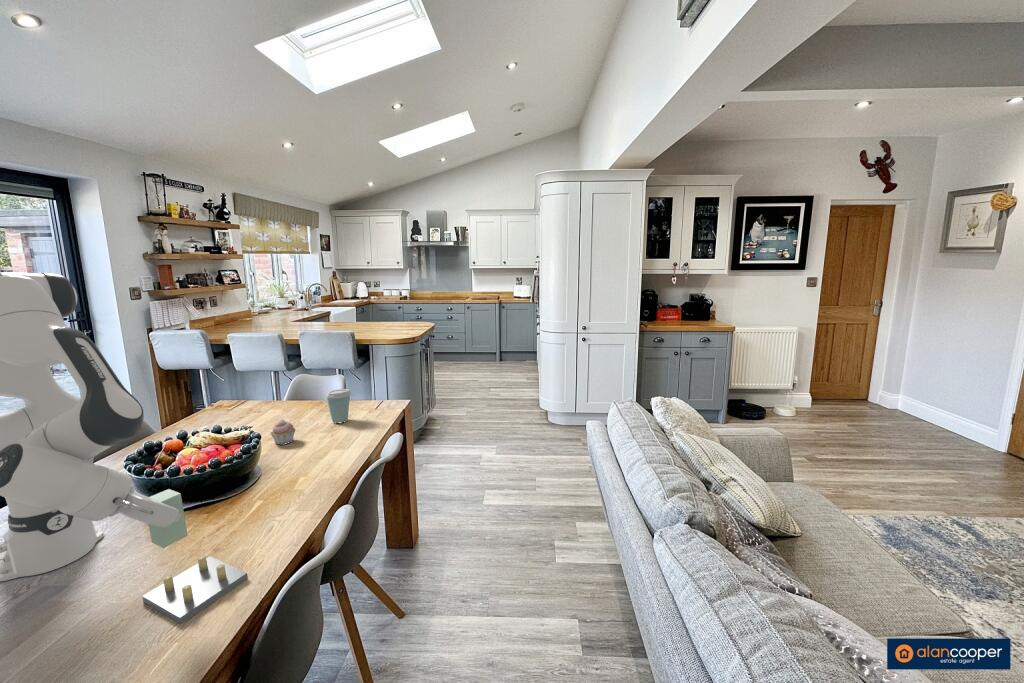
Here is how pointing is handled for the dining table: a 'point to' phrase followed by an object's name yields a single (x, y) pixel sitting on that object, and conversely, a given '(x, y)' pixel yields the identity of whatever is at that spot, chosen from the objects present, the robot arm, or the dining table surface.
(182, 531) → the green block
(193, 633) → the dining table surface
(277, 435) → the cupcake
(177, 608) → the plate
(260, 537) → the dining table surface
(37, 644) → the dining table surface
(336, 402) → the disposable coffee cup
